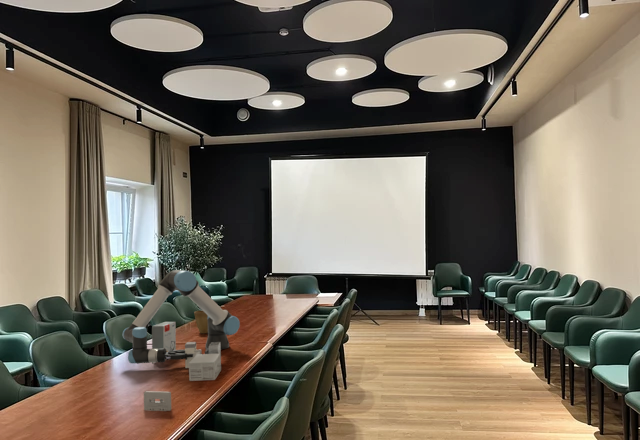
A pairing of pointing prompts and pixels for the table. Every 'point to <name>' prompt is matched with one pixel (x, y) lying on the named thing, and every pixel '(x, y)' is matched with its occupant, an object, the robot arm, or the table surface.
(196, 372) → the supplement box
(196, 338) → the table surface
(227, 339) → the robot arm
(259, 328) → the table surface
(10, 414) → the table surface
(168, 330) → the hard drive box
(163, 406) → the cassette
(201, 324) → the plant pot
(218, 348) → the grey boxy device
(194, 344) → the white and grey box
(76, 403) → the table surface
